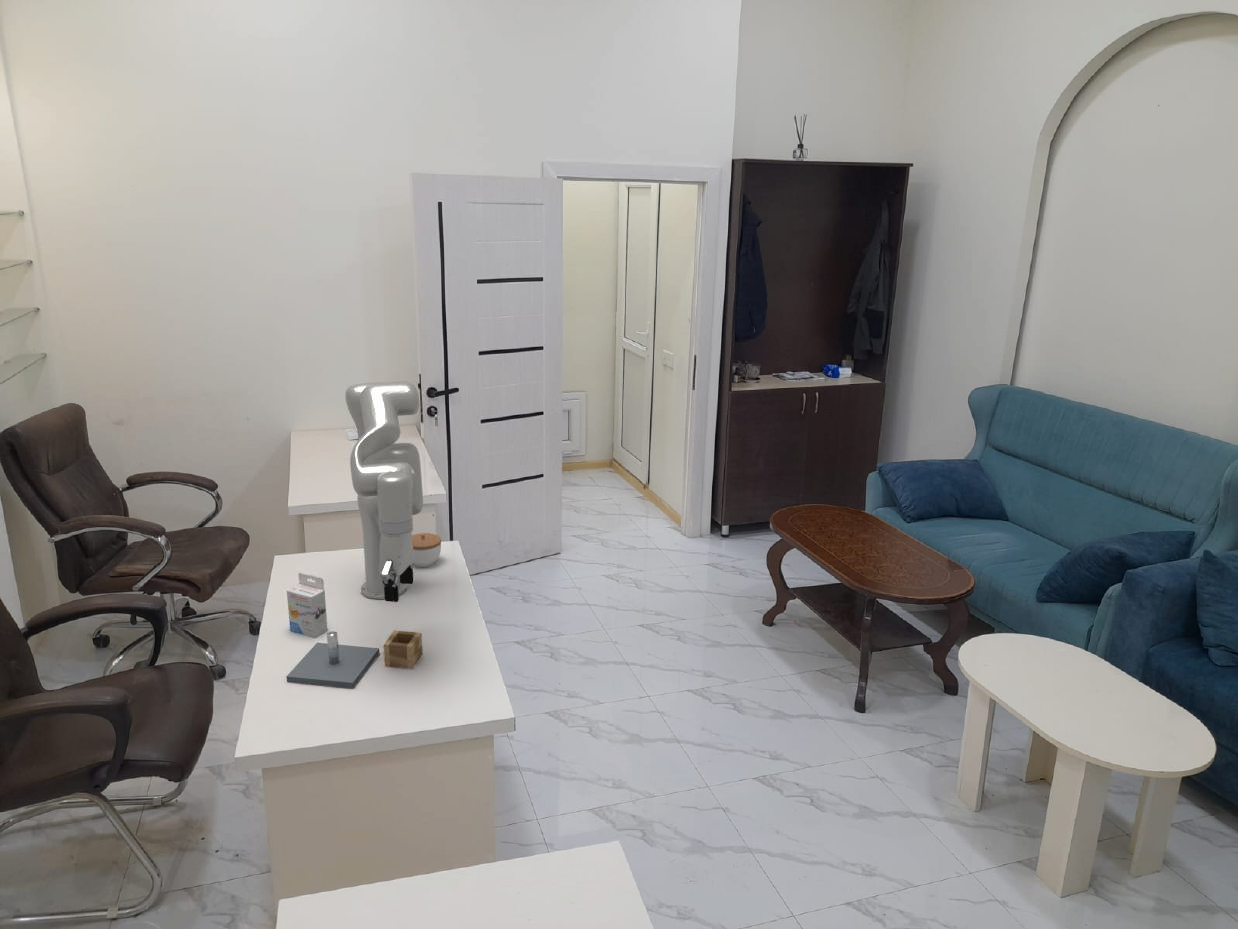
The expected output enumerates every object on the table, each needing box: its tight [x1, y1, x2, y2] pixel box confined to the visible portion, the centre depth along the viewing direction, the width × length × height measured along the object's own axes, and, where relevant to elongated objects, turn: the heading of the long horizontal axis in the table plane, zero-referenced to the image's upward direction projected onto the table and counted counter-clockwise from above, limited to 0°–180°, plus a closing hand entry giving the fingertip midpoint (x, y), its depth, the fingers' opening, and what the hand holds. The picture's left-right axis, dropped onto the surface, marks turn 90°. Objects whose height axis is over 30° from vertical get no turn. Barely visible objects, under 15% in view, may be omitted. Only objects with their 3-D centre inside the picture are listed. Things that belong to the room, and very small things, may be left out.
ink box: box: [286, 572, 328, 639], centre depth 227 cm, size 8×5×15 cm, turn 67°
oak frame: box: [383, 630, 424, 670], centre depth 215 cm, size 7×7×6 cm
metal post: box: [326, 631, 339, 665], centre depth 211 cm, size 2×2×8 cm
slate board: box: [285, 642, 380, 689], centre depth 212 cm, size 16×16×2 cm
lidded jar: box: [412, 532, 442, 568], centre depth 269 cm, size 11×11×9 cm
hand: (399, 592), depth 211 cm, fingers open, 9 cm apart
